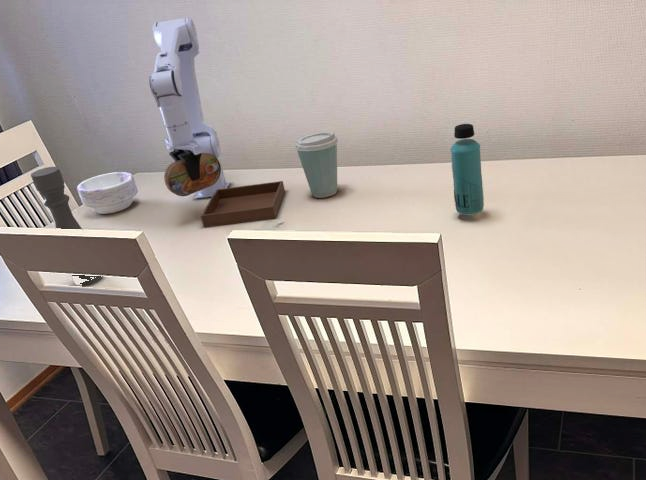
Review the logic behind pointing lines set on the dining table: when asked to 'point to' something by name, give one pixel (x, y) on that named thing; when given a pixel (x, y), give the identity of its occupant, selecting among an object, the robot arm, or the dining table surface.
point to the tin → (181, 180)
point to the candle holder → (58, 203)
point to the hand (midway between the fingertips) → (192, 178)
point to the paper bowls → (108, 192)
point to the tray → (243, 204)
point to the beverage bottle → (467, 171)
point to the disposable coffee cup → (319, 162)
